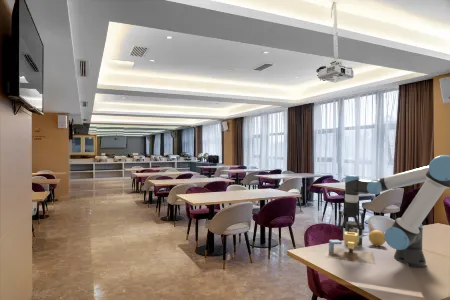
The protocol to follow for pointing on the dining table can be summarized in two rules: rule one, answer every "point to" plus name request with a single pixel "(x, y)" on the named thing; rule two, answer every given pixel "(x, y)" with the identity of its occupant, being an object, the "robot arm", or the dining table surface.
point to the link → (351, 239)
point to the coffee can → (354, 230)
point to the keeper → (331, 245)
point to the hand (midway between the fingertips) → (350, 240)
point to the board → (352, 255)
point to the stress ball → (377, 237)
